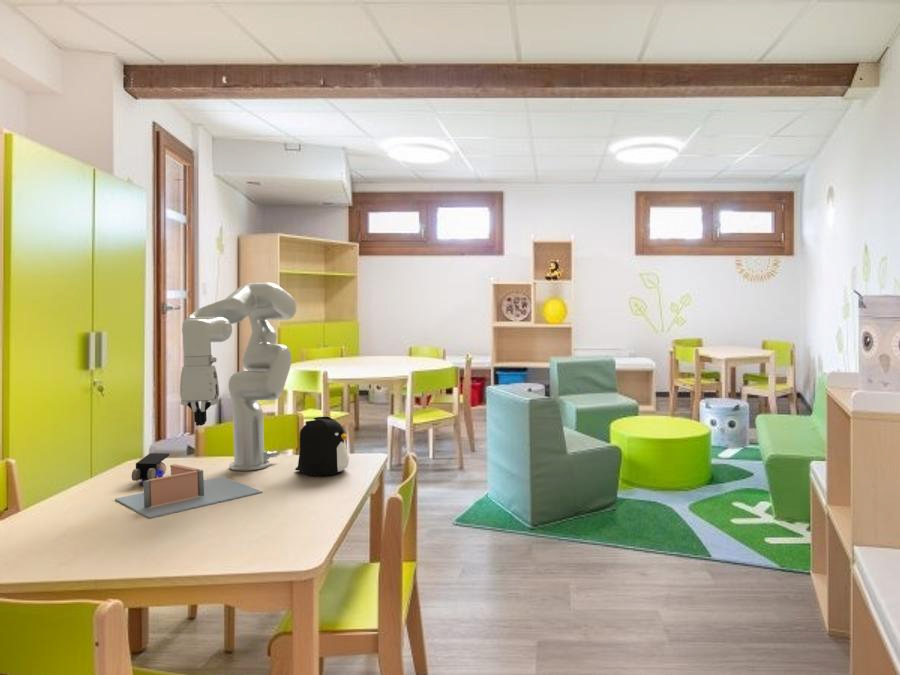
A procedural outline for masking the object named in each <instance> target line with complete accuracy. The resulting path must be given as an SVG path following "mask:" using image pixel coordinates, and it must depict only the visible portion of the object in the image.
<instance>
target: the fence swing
mask: <svg viewBox="0 0 900 675" xmlns="http://www.w3.org/2000/svg"><path fill="white" fill-rule="evenodd" d="M169 467H170V475H176V474H181V473H186V472H191V471H198V470H201V469H200V468H195V467H192V466H187V465H186V466H185V465H181V464H176V463H174V464H170V465H169Z"/></svg>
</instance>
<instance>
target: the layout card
mask: <svg viewBox="0 0 900 675" xmlns="http://www.w3.org/2000/svg"><path fill="white" fill-rule="evenodd" d="M262 493H263V491H262V490H260V489H258V488H255V487H252V486H249V485H246V484H243V483H241V482H238V481H237V480H233V479H231V478H228V477H225V476H219V477H215V478H211V479H205V480H204V496H197V497H193V498H188V499H184V500H179V501H174V502H170V503H165V504H161V505H156V506H151V507H148V508H144V492H141V493H135V494H131V495H126V496H125V495H124V496H121V497H116V498H114V501H116V502H118V503H120V504H122V505H123V506H125V507H127V508H129V509H131V510H133V511H135V512H136V513H138V514H141V515H142V516H144V517H146V518H148V519H152V518H153V519H155V518H157V517H161V516H165V515H166V516H167V515H171V514H175V513H179V512H184V511H188V510H192V509H193V510H194V509H197V508H200V507H206V506H209V505H215V504H220V503H224V502H227V501H233V500H236V499H240V498H246V497H249V496H254V495H258V494H262Z"/></svg>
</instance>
